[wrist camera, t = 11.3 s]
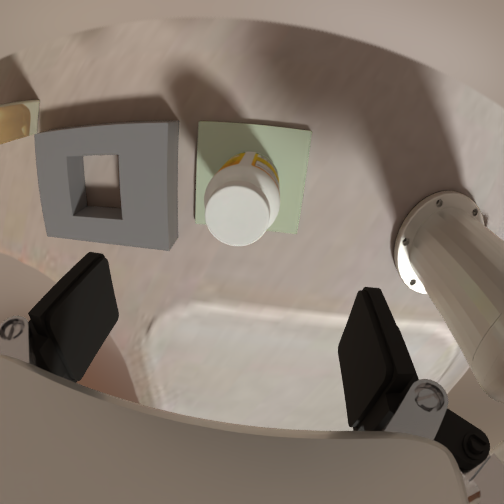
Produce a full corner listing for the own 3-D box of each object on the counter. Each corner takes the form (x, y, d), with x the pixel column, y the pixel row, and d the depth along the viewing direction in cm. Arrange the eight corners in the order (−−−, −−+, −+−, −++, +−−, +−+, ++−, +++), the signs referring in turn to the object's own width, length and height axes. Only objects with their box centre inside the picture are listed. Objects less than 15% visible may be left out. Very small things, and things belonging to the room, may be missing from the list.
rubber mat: (311, 131, 24) (311, 131, 23) (296, 232, 29) (296, 234, 28) (200, 121, 24) (198, 121, 24) (196, 221, 29) (195, 223, 28)
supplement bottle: (282, 154, 25) (288, 179, 16) (275, 209, 27) (276, 261, 19) (221, 147, 25) (195, 170, 16) (218, 203, 27) (193, 251, 19)
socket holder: (179, 120, 24) (168, 122, 22) (178, 237, 30) (169, 250, 27) (51, 129, 24) (34, 134, 22) (61, 225, 30) (47, 236, 28)
